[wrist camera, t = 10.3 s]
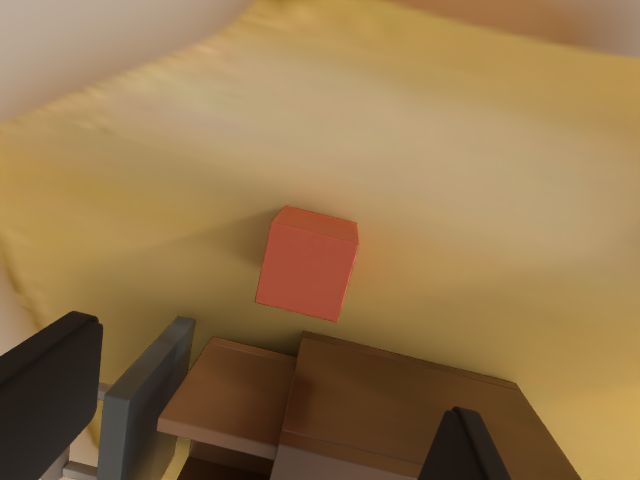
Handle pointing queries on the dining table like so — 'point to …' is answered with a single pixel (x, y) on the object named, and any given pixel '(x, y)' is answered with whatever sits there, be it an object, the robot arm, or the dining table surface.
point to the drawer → (190, 412)
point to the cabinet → (397, 416)
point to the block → (307, 263)
